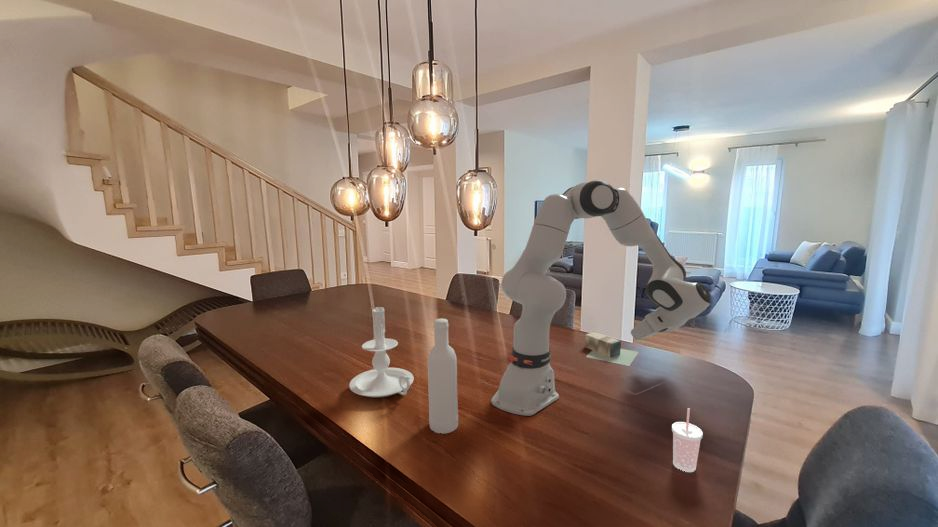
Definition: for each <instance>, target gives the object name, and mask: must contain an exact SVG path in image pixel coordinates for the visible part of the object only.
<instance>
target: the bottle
mask: <svg viewBox="0 0 938 527" xmlns="http://www.w3.org/2000/svg"><path fill="white" fill-rule="evenodd" d="M433 328H434V329H433V330H434V345H433V347H432V348H431V349H430V350H429V353H428V355H427V358H426V359H427V360H426V361H427V386H428V389H427V390H428V414H429V415H428V422H429V428H430V430H431V431H432V432H433V431H434V433H436V434H440V433H441V435H442V434H443V435H444V434H446V435H447V434H449V433H453V432H454V431H455V430H457V429H458V426H459V409H458V408H459V406H458V405H459V404H458V403H459V402H458V400H459V399H458V365H457V364H458V363H457V362H458V360H457V355H456V351H455V349H454V348H453V347H452V346H450V345H449V320H448V319H447V318H436V319H435V320H434V321H433Z"/></svg>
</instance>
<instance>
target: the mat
mask: <svg viewBox="0 0 938 527" xmlns="http://www.w3.org/2000/svg"><path fill="white" fill-rule="evenodd" d="M638 354H639V351H635V350H630V349H625V348H621V349H620V355H617V356H614V357H609V356H606V355H603V354H601V353H598V352H596V351H593V350H591V351H590V352H588V353H587V355H586V356H585V357H586V358H590V359H594V360H599V361H603V362H606V363H607V362H609V363H612V364H613V363H614V364H617V365H621V366H626V367H627V366H628V367H630V366H631V364H632V362H634V360H635V359H636V357H637V355H638Z"/></svg>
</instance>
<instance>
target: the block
mask: <svg viewBox="0 0 938 527" xmlns="http://www.w3.org/2000/svg"><path fill="white" fill-rule="evenodd" d="M621 344H622V341H621V340H620V339H616V338H613V337H610V336H607V335H604V334H602V333H598V332H596V331H594V332H589V333H586V334H585V335H584V348H585V349H588V350H591V351H592V350H593V351H596V352H598V353H601V354H603V355H606V356H609V357H614V356H617V355H620V349H622V348H621V347H622V346H621Z"/></svg>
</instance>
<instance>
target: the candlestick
mask: <svg viewBox="0 0 938 527" xmlns="http://www.w3.org/2000/svg"><path fill="white" fill-rule="evenodd" d="M371 311H372V326H373V328H372V329H373V330H372V332H373V339H371V340H368V341H365V342H364V343H363V344H362V345H361V348H362V349H363V350H364V351H368V352H374V355H373V357H372V360H371V364H372V367H373V368H372V369H370V370H367V371H364V372H361V373H359V374H358V375H355V376H354V377H353V378H352V379H351V380H350V381H349V384H348V388H349V389H350V391H351V392H353V393H354V394H356V395H359V396H363V397H368V398H384V397H385V398H386V397H390V396H393V395H396V394H399V395H401V396H406V395H407V393H408V390H409V389H410V386H411V385H412V384H413V382H414V379H415V377H414V375H413V373H411V372H410V371H408V370H406V369H404V368H399V367H389V366H390V362H391V359H390V357H389V355H388V354H387V351H389V350H392V349H394V348H395V347H397V346H398V344H399V342H398V340H396V339H393V338H386V337H385V333H386V321H385V320H386V317H385V308H384V307H383V306H377V307H374V308H373V309H372V310H371Z"/></svg>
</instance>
